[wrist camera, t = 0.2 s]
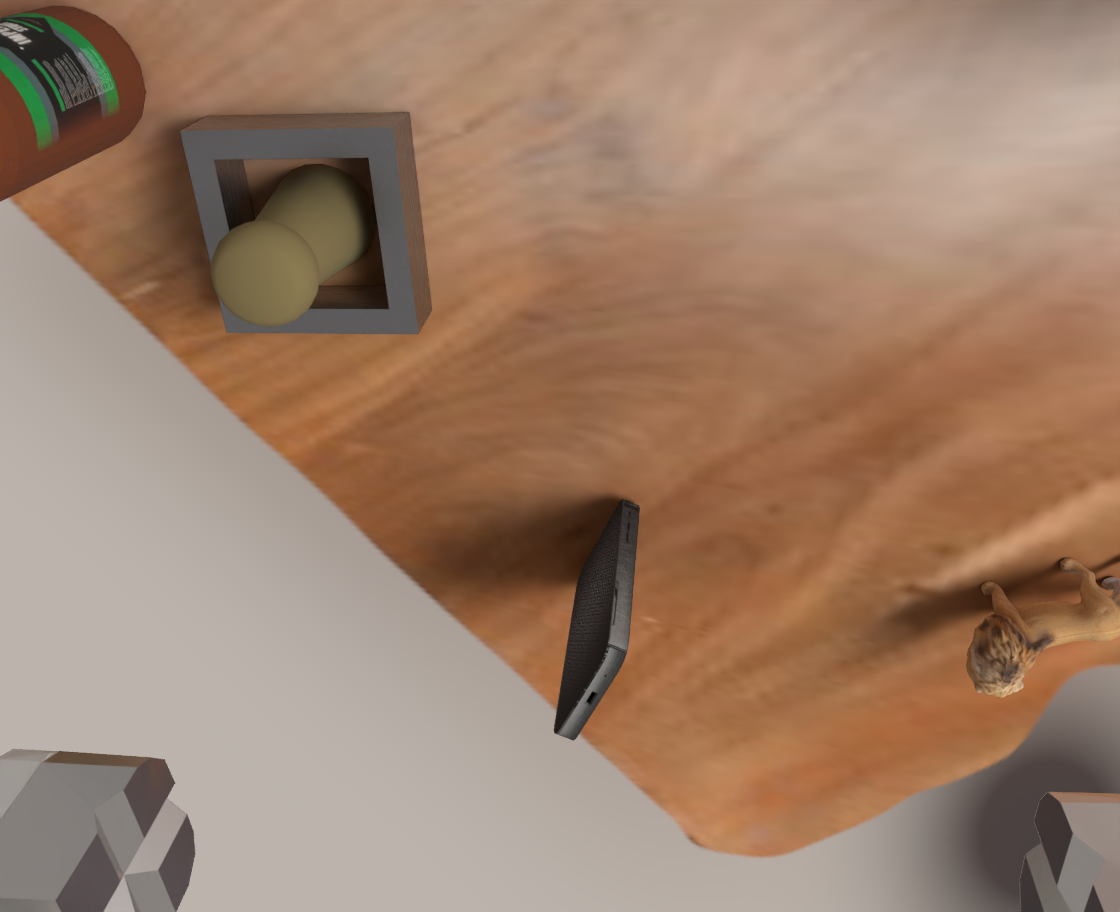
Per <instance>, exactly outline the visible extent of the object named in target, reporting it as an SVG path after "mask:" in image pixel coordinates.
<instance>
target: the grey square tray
mask: <svg viewBox="0 0 1120 912" xmlns="http://www.w3.org/2000/svg"><path fill="white" fill-rule="evenodd" d="M180 134H181V138H182V142H183V147H184V151H185V155H186V160H187V164H188V168H189V173H190V177H191V181H192V186H193V190H194V194H195V199H196V203H197V207H198V211H199V216H200V220H201V224H202V229H203V233H204V237H205V242H206V246H207V250H208V255H209V259H210V263H211V259H212V257H213V254H214V252H215V250H216V247H217V245H218V243H219V241H220V240H221V239H222V238H223V237H224V236H225V235H226V234H227V233H228V232H229V231H231V230H232V229H233V228H235V227H237V226H240V225H242V224H244V223H247V222H252V221H254V220H255V218H254V213H253V208H252V203H251V199H250V194H249V189H248V184H247V179H246V174H245V169H244V164H243V159H300V158H368V159H369V166H370V174H371V181H372V188H373V195H374V203H375V210H376V217H377V224H378V232H379V239H380V246H381V253H382V261H383V268H384V275H385V283H386V286H318V292H317V294H316V296H315V298H314V300H313V302H312V304H311V306H310V307H309V309H308V310H307V311H306V312H304V313H303V314H302V315H301V316H300V317H299V318H298V319H296V320H294V321H291V322H289V323H286V324H284V325H281V326H275V327H262V326H259V325H255V324H251V323H248V322H245V321H244V320H242V319H240V318H238V317H237V316H235V315H233V314H232V313H231V312H230V311H229V310H228V309H227V308H226V307H225V306H224V305H223V303H222V302H221V300H220V299H219V302H220V307H221V311H222V315H223V320H224V324H225V328H226V332H229V333H339V334H419V332H420V330H421V329H422V327H423V325H424V323H425V322H426V320H427V318H428V316H429V315H430V313H431V311H432V306H431V297H430V288H429V279H428V271H427V262H426V253H425V244H424V235H423V227H422V218H421V209H420V200H419V192H418V183H417V174H416V165H415V156H414V148H413V139H412V130H411V121H410V112H402V113H345V114H288V115H231V116H207V117H205V118H203V119H201V120H199V121H197V122H195V123H193V124H192V125H190V126H188V127H186V128H184V129H182V130H180ZM218 298H219V297H218Z"/></svg>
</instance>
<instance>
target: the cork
mask: <svg viewBox="0 0 1120 912" xmlns="http://www.w3.org/2000/svg"><path fill="white" fill-rule="evenodd" d="M375 227H376V219H375V214H374V208H373V205H372V203H371V201H370V199H369V197H368V195H367V193H366V191H365V190H364V189H363V188H362V187H361V186H360V184H359V183H358V182H357V181H356V180H355V179H354V178H353V177H351V176H350V175H348V174H346V173H345V172H343V171H342V170H340V169H338V168H335V167H331V166H327V165H323V164H313V165H304V166H302V167H300V168H297V169H295V170H293V171H291V172H290V173H289V174H288V175H287V176H286V177H285V178H284V179H283V180H282V181H281V182H280V183H279V185H278V186H277V188H276V189H275V191H274V192H273V194H272V195H271V197H270V198H269V200H268V201H267V203H266V204H265V206H264V207H263V209H262V210H261V212H260V213H259V215H258V216H257V217H256V219H255V220H254V221H252V222H247V223H244V224H242V225H240V226H237V227H235V228H233V229H232V230H231V231H229V232H228V233H227V234H226V235H225V236H224V237H223V238H222V239H221V240H220V241H219V243H218V245H217V247H216V250H215V252H214V254H213V257H212V259H211V272H210V275H211V279H212V282H213V286H214V290H215V292H216V294H217V295H218V297H219V299H220V300H221V302H222V303H223V305H224V306H225V307H226V308H227V309H228V310H229V311H230V312H231V313H232V314H233V315H235V316H237V317H238V318H240V319H242V320H244V321H245V322H248V323H251V324H255V325H259V326H262V327H275V326H281V325H284V324H286V323H289V322H291V321H294V320H296V319H298V318H299V317H300V316H301V315H302V314H303V313H304V312H306V311H307V310H308V309H309V307H310V306H311V304H312V302H313V300H314V298H315V296H316V294H317V292H318V286H319V285H320V284H321V283H323V282H325V281H326V280H328V279H329V278H331V277H332V276H334V275H335V274H337V273H338V272H340V271H341V270H343V269H344V268H346V267H347V266H349V265H351V264H352V263H354V262H355V261H357V260H358V259H359V258H360V257H361V256H362V255H363V254H364V253H366V252H367V250H368V248H369V246H370V245H371V243H372V241H373V239H374V234H375Z"/></svg>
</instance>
